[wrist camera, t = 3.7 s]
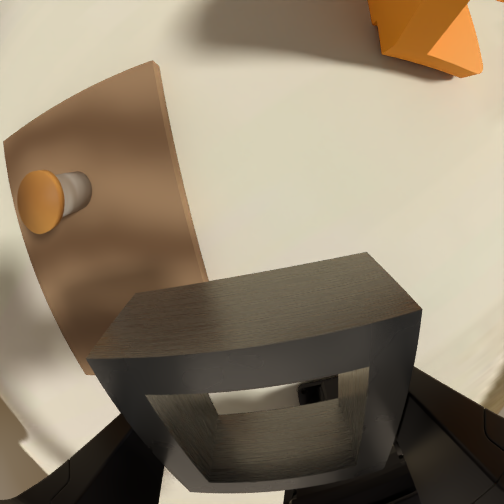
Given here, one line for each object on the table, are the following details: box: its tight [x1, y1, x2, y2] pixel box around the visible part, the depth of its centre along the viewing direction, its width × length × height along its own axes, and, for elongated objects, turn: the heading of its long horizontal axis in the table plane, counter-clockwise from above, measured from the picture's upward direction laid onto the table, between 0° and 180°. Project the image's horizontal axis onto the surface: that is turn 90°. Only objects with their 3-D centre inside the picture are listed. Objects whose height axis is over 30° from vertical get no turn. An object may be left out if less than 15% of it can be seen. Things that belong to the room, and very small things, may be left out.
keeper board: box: [3, 60, 209, 375], centre depth 15 cm, size 20×13×5 cm, turn 12°
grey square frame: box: [86, 252, 422, 493], centre depth 7 cm, size 6×6×3 cm
